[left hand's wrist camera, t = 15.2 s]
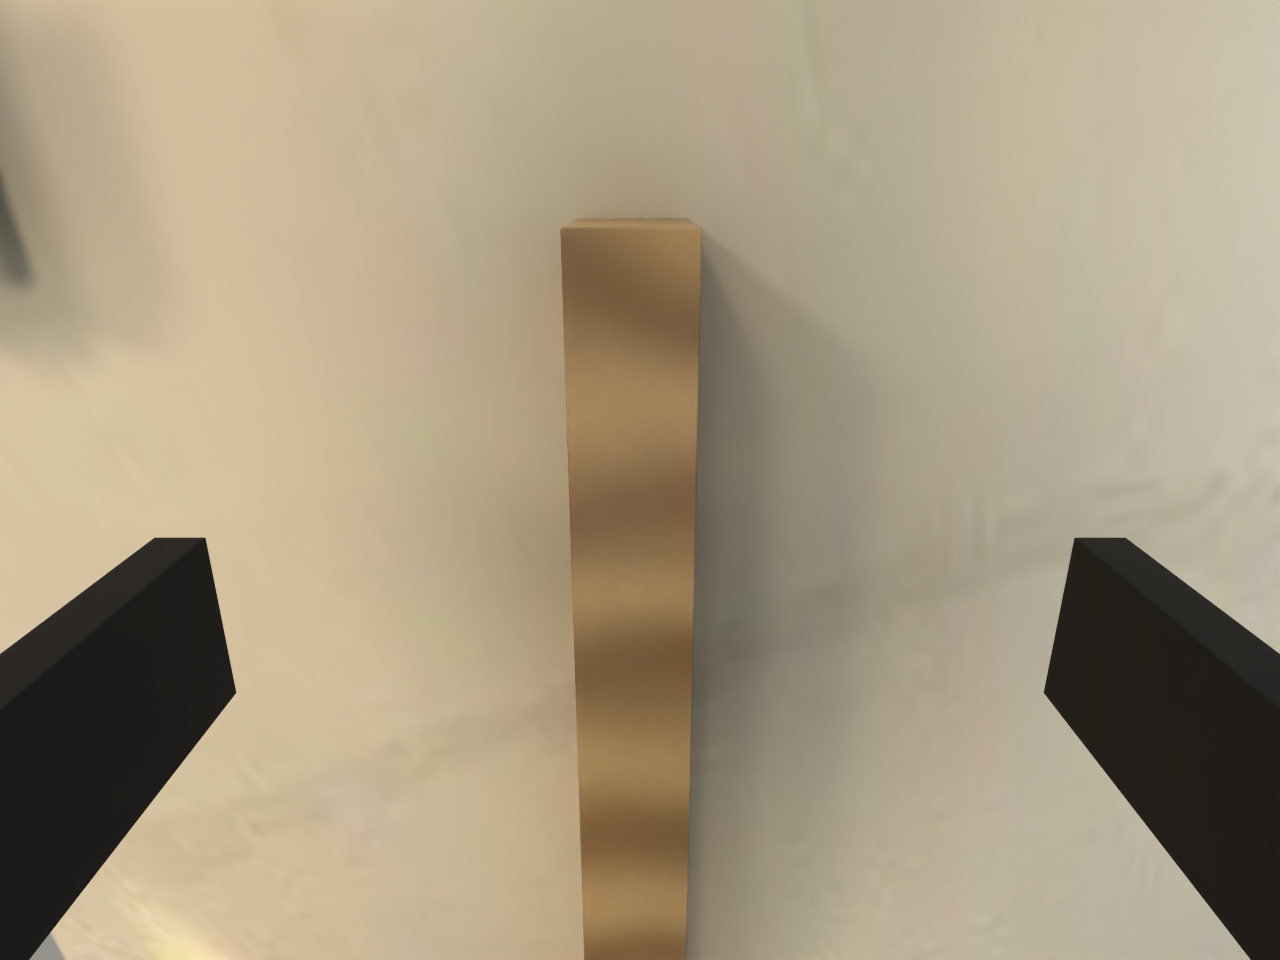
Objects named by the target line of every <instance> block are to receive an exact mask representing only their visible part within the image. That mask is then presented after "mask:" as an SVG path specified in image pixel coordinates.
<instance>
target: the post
mask: <svg viewBox="0 0 1280 960" xmlns="http://www.w3.org/2000/svg"><path fill="white" fill-rule="evenodd" d="M701 255H702V228H700V227H699V226H697V225H696V224H694V223H693V222H691V221H690V220H688V219H576V220H574V221H573V222H571V223H569V224H568V225H566V226H564V227H563V228H561V259H562V290H563V320H564V350H565V381H566V411H567V442H568V472H569V502H570V533H571V563H572V593H573V624H574V654H575V684H576V715H577V745H578V776H579V806H580V836H581V867H582V897H583V927H584V958H585V960H686V941H687V896H688V850H689V804H690V758H691V713H692V667H693V621H694V575H695V530H696V484H697V438H698V392H699V347H700V301H701Z"/></svg>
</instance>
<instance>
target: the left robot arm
mask: <svg viewBox="0 0 1280 960" xmlns="http://www.w3.org/2000/svg"><path fill="white" fill-rule="evenodd" d="M235 694H236V689H235V684H234V679H233V674H232V669H231V664H230V659H229V654H228V649H227V644H226V639H225V634H224V629H223V624H222V619H221V614H220V609H219V604H218V599H217V594H216V589H215V584H214V579H213V574H212V569H211V564H210V559H209V554H208V549H207V544H206V538H154V539H152V540H151V541H150V542H148V543H147V544H146V545H144V546H143V547H142V548H140V549H139V550H138V551H136V552H135V553H134V554H132V555H131V556H130V557H128V558H127V559H126V560H124V561H123V562H122V563H121V564H119V565H118V566H117V567H115V568H114V569H113V570H111V571H110V572H109V573H107V574H106V575H105V576H103V577H102V578H101V579H99V580H98V581H97V582H95V583H94V584H93V585H91V586H90V587H89V588H87V589H86V590H85V591H83V592H82V593H81V594H79V595H78V596H77V597H75V598H74V599H73V600H71V601H70V602H69V603H67V604H66V605H65V606H63V607H62V608H61V609H59V610H58V611H57V612H55V613H54V614H53V615H51V616H50V617H49V618H47V619H46V620H45V621H44V622H42V623H41V624H40V625H38V626H37V627H36V628H34V629H33V630H32V631H30V632H29V633H28V634H26V635H25V636H24V637H22V638H21V639H20V640H18V641H17V642H16V643H14V644H13V645H12V646H10V647H9V648H8V649H6V650H5V651H4V652H2V653H1V654H0V960H29V959H30V958H31V957H32V955H33V954H34V953H35V951H36V950H37V949H38V948H39V946H40V945H41V944H42V942H43V941H44V940H45V939H46V937H47V936H48V935H49V933H50V932H51V931H52V930H53V928H54V927H55V926H56V924H57V923H58V922H59V921H60V919H61V918H62V917H63V915H64V914H65V913H66V912H67V910H68V909H69V908H70V906H71V905H72V904H73V903H74V901H75V900H76V899H77V897H78V896H79V895H80V893H81V892H82V891H83V890H84V888H85V887H86V886H87V884H88V883H89V882H90V881H91V879H92V878H93V877H94V875H95V874H96V873H97V872H98V870H99V869H100V868H101V866H102V865H103V864H104V863H105V861H106V860H107V859H108V857H109V856H110V855H111V854H112V852H113V851H114V850H115V848H116V847H117V846H118V845H119V843H120V842H121V841H122V839H123V838H124V837H125V835H126V834H127V833H128V832H129V830H130V829H131V828H132V826H133V825H134V824H135V823H136V821H137V820H138V819H139V817H140V816H141V815H142V814H143V812H144V811H145V810H146V808H147V807H148V806H149V805H150V803H151V802H152V801H153V799H154V798H155V797H156V796H157V794H158V793H159V792H160V790H161V789H162V788H163V786H164V785H165V784H166V783H167V781H168V780H169V779H170V777H171V776H172V775H173V774H174V772H175V771H176V770H177V768H178V767H179V766H180V765H181V763H182V762H183V761H184V759H185V758H186V757H187V756H188V754H189V753H190V752H191V750H192V749H193V748H194V747H195V745H196V744H197V743H198V741H199V740H200V739H201V737H202V736H203V735H204V734H205V732H206V731H207V730H208V728H209V727H210V726H211V725H212V723H213V722H214V721H215V719H216V718H217V717H218V716H219V714H220V713H221V712H222V710H223V709H224V708H225V707H226V705H227V704H228V703H229V701H230V700H231V699H232V698H233V696H234V695H235ZM1044 694H1045V695H1046V696H1047V698H1048V699H1049V700H1050V701H1051V703H1052V704H1053V705H1054V707H1055V708H1056V709H1057V710H1058V712H1059V713H1060V714H1061V716H1062V717H1063V718H1064V719H1065V721H1066V722H1067V723H1068V725H1069V726H1070V727H1071V728H1072V730H1073V731H1074V732H1075V734H1076V735H1077V736H1078V737H1079V739H1080V740H1081V741H1082V743H1083V744H1084V745H1085V747H1086V748H1087V749H1088V750H1089V752H1090V753H1091V754H1092V756H1093V757H1094V758H1095V759H1096V761H1097V762H1098V763H1099V765H1100V766H1101V767H1102V768H1103V770H1104V771H1105V772H1106V774H1107V775H1108V776H1109V777H1110V779H1111V780H1112V781H1113V783H1114V784H1115V785H1116V786H1117V788H1118V789H1119V790H1120V792H1121V793H1122V794H1123V796H1124V797H1125V798H1126V799H1127V801H1128V802H1129V803H1130V805H1131V806H1132V807H1133V808H1134V810H1135V811H1136V812H1137V814H1138V815H1139V816H1140V817H1141V819H1142V820H1143V821H1144V823H1145V824H1146V825H1147V826H1148V828H1149V829H1150V830H1151V832H1152V833H1153V834H1154V835H1155V837H1156V838H1157V839H1158V841H1159V842H1160V843H1161V845H1162V846H1163V847H1164V848H1165V850H1166V851H1167V852H1168V854H1169V855H1170V856H1171V857H1172V859H1173V860H1174V861H1175V863H1176V864H1177V865H1178V866H1179V868H1180V869H1181V870H1182V872H1183V873H1184V874H1185V875H1186V877H1187V878H1188V879H1189V881H1190V882H1191V883H1192V884H1193V886H1194V887H1195V888H1196V890H1197V891H1198V892H1199V893H1200V895H1201V896H1202V897H1203V899H1204V900H1205V901H1206V903H1207V904H1208V905H1209V906H1210V908H1211V909H1212V910H1213V912H1214V913H1215V914H1216V915H1217V917H1218V918H1219V919H1220V921H1221V922H1222V923H1223V924H1224V926H1225V927H1226V928H1227V930H1228V931H1229V932H1230V933H1231V935H1232V936H1233V937H1234V939H1235V940H1236V941H1237V942H1238V944H1239V945H1240V946H1241V948H1242V949H1243V950H1244V952H1245V953H1246V954H1247V955H1248V957H1249V958H1250V959H1251V960H1280V654H1279V653H1278V652H1276V651H1275V650H1274V649H1272V648H1271V647H1270V646H1268V645H1267V644H1266V643H1264V642H1263V641H1262V640H1260V639H1259V638H1258V637H1256V636H1255V635H1254V634H1252V633H1251V632H1250V631H1248V630H1247V629H1246V628H1244V627H1243V626H1242V625H1240V624H1239V623H1238V622H1236V621H1235V620H1234V619H1233V618H1231V617H1230V616H1229V615H1227V614H1226V613H1225V612H1223V611H1222V610H1221V609H1219V608H1218V607H1217V606H1215V605H1214V604H1213V603H1211V602H1210V601H1209V600H1207V599H1206V598H1205V597H1203V596H1202V595H1201V594H1199V593H1198V592H1197V591H1195V590H1194V589H1193V588H1191V587H1190V586H1189V585H1187V584H1186V583H1185V582H1183V581H1182V580H1181V579H1179V578H1178V577H1177V576H1175V575H1174V574H1173V573H1171V572H1170V571H1169V570H1167V569H1166V568H1165V567H1163V566H1162V565H1161V564H1159V563H1158V562H1157V561H1156V560H1154V559H1153V558H1152V557H1150V556H1149V555H1148V554H1146V553H1145V552H1144V551H1142V550H1141V549H1140V548H1138V547H1137V546H1136V545H1134V544H1133V543H1132V542H1130V541H1129V540H1128V539H1126V538H1074V544H1073V549H1072V554H1071V559H1070V564H1069V569H1068V574H1067V579H1066V584H1065V589H1064V594H1063V599H1062V604H1061V609H1060V614H1059V619H1058V624H1057V629H1056V634H1055V639H1054V644H1053V649H1052V654H1051V659H1050V664H1049V669H1048V674H1047V679H1046V684H1045V689H1044Z"/></svg>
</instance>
